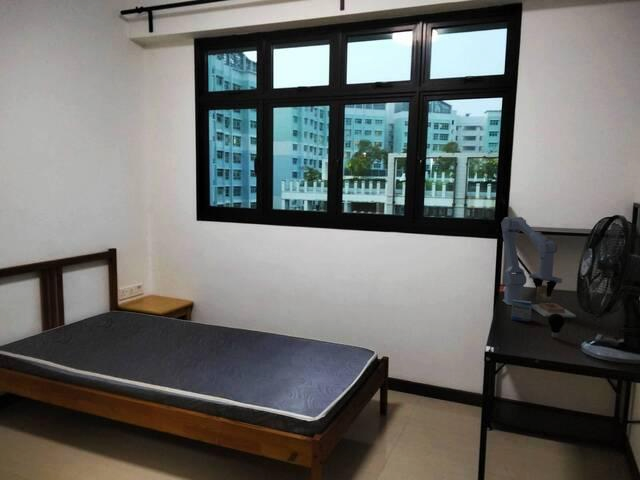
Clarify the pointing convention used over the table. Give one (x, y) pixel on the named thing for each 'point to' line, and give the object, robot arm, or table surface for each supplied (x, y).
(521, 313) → the medicine box
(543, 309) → the holder
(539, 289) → the oak block
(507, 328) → the table surface
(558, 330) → the light bulb
